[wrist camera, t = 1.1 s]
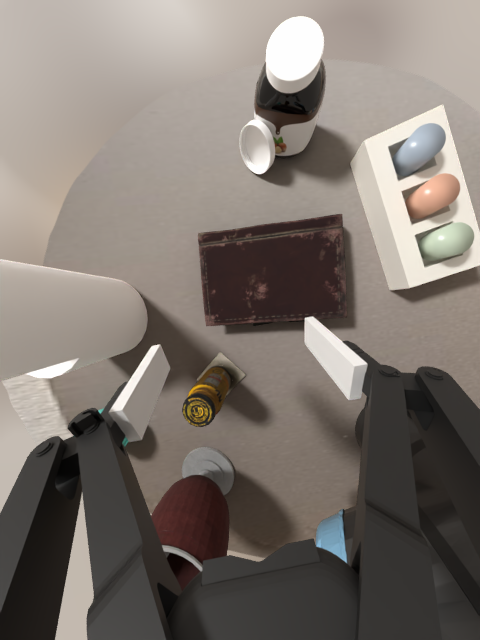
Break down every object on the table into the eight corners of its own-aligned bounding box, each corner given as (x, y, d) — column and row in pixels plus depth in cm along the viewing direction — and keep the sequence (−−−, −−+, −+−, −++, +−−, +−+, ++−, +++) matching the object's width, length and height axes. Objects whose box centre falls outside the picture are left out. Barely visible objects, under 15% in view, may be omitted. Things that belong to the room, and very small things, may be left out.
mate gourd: (237, 446, 39) (212, 589, 20) (238, 502, 41) (214, 690, 21) (172, 440, 41) (89, 564, 22) (174, 494, 43) (98, 658, 23)
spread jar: (316, 119, 32) (347, 15, 20) (299, 185, 33) (318, 122, 22) (252, 110, 33) (246, 6, 21) (237, 174, 34) (224, 109, 23)
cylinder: (101, 263, 40) (-270, 168, 12) (161, 308, 39) (-89, 320, 11) (67, 324, 42) (-303, 362, 15) (123, 368, 41) (-158, 498, 14)
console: (456, 268, 31) (488, 262, 27) (389, 290, 33) (409, 288, 28) (416, 133, 30) (442, 104, 26) (349, 163, 32) (364, 140, 27)
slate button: (426, 168, 27) (449, 149, 24) (396, 180, 28) (414, 163, 25) (418, 140, 27) (440, 117, 24) (388, 153, 28) (405, 132, 24)
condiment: (196, 379, 39) (168, 411, 27) (220, 351, 38) (201, 373, 26) (221, 401, 39) (203, 443, 27) (245, 374, 38) (238, 406, 26)
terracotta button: (439, 211, 28) (464, 199, 24) (409, 223, 28) (429, 212, 25) (431, 184, 27) (455, 167, 24) (401, 196, 28) (420, 181, 25)
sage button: (452, 254, 28) (478, 247, 25) (421, 264, 29) (443, 259, 25) (444, 227, 28) (469, 217, 24) (414, 238, 28) (434, 229, 25)
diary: (205, 239, 37) (196, 229, 32) (331, 222, 34) (343, 207, 29) (213, 327, 38) (205, 330, 33) (335, 319, 35) (347, 322, 30)
